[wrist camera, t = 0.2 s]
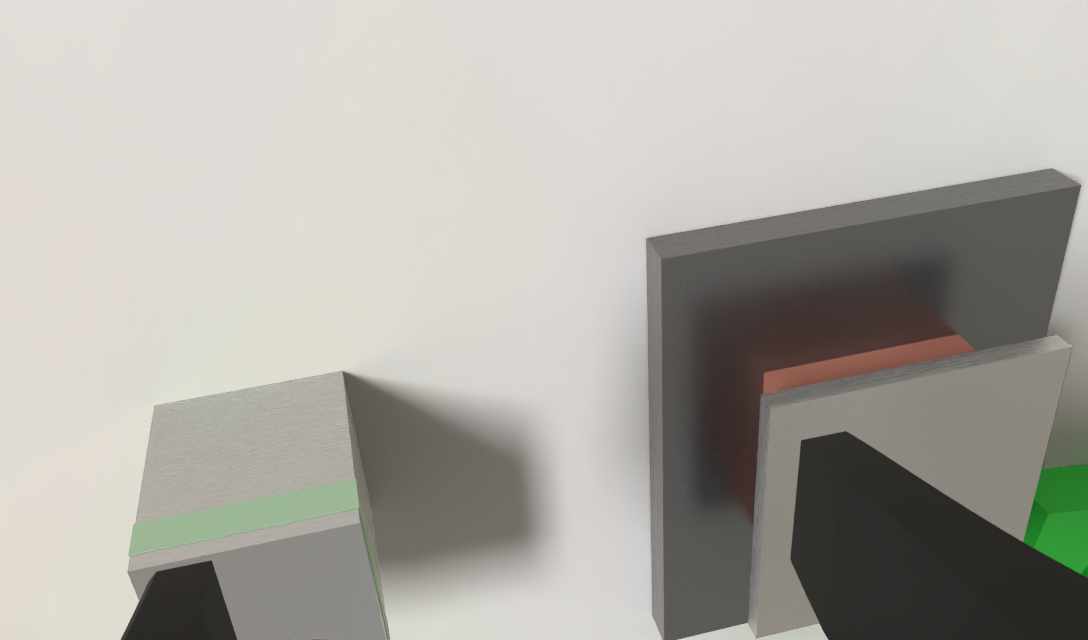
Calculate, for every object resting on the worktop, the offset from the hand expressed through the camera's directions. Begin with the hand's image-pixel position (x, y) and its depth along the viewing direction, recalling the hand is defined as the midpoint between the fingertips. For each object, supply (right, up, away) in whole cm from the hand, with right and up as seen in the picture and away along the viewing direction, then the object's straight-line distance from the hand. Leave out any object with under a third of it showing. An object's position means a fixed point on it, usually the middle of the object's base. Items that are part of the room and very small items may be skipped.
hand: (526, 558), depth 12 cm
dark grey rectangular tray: (+8, +1, +14) cm, 16 cm away
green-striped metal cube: (-6, 0, +11) cm, 12 cm away
